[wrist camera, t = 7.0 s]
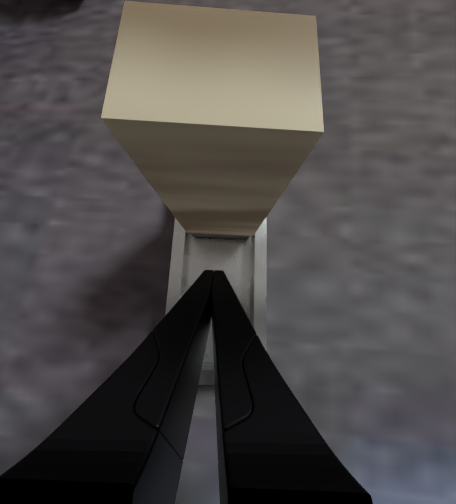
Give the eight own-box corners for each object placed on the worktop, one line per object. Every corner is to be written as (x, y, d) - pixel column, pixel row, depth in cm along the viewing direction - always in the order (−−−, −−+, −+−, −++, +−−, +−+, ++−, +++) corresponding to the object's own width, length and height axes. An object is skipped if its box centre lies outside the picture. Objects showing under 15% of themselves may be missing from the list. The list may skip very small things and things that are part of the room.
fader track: (259, 369, 15) (266, 386, 12) (168, 367, 15) (158, 383, 12) (260, 184, 18) (266, 169, 16) (185, 180, 18) (180, 164, 15)
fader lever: (250, 239, 15) (323, 131, 4) (189, 236, 15) (100, 117, 4) (251, 199, 16) (315, 16, 5) (192, 195, 16) (124, 0, 5)
